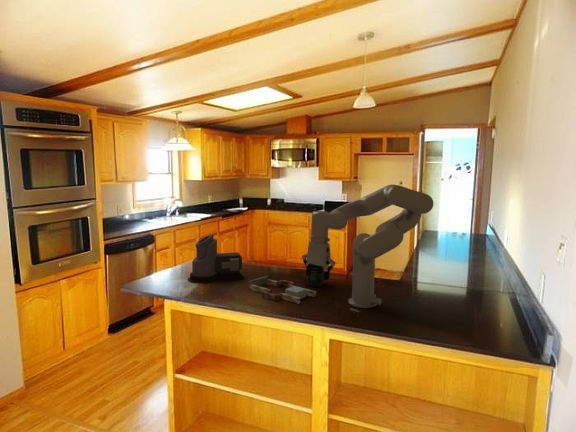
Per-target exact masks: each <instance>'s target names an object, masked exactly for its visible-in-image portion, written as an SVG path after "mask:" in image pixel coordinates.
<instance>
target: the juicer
mask: <svg viewBox="0 0 576 432" xmlns="http://www.w3.org/2000/svg"><path fill="white" fill-rule="evenodd" d="M195 249H196V257H194V258H193V260H192V261H191V267H192V268H191V269H192V272H190V274H189V277H188V278H187V281H188V282H189V283H191V284H209V283H215V282H221V281H222V282H223V280H224V281H233V280H232V279H237V280H244V279H243V278H245V277H244V276H243V274H242V272H241V270H243V257H242V255H241V254H240V253H239V252H237V251H236V252H221V253H218V239H216V238H214V234H213V233H210V234H208V235H206V236H204V237H203V238H201V239H199V240H197V242H195Z"/></svg>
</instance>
